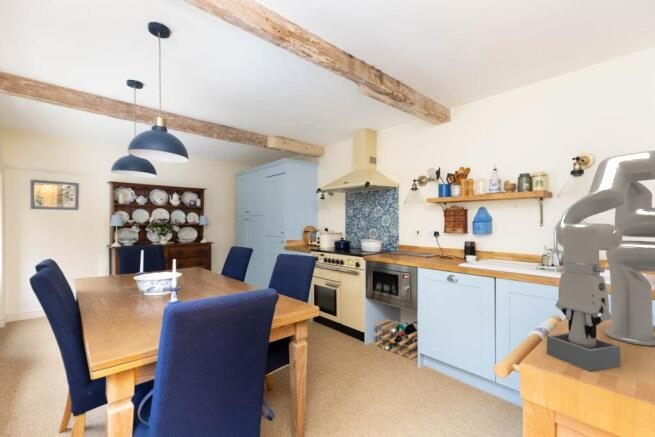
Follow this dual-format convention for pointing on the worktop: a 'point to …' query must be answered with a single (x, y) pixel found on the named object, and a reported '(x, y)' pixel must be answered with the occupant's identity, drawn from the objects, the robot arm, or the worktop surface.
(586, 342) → the grey bowling pin
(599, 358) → the press housing
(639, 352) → the worktop surface
